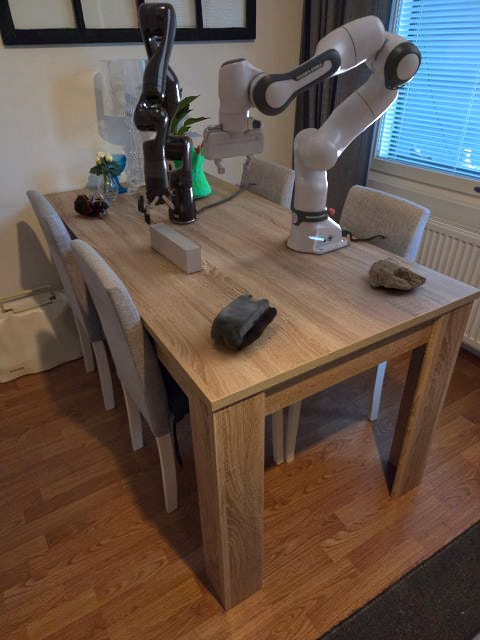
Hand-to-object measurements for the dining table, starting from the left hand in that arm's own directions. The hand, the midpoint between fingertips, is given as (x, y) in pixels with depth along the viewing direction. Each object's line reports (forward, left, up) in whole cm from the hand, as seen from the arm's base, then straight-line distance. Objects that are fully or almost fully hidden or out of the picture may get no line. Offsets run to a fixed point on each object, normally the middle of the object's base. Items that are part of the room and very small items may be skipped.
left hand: (160, 221), depth 154 cm
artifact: (-29, +73, -10) cm, 79 cm away
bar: (+2, +9, -10) cm, 14 cm away
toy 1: (-4, -50, -10) cm, 51 cm away
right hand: (-10, +25, +19) cm, 33 cm away
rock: (+23, +58, -10) cm, 64 cm away
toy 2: (-53, -41, -10) cm, 68 cm away
